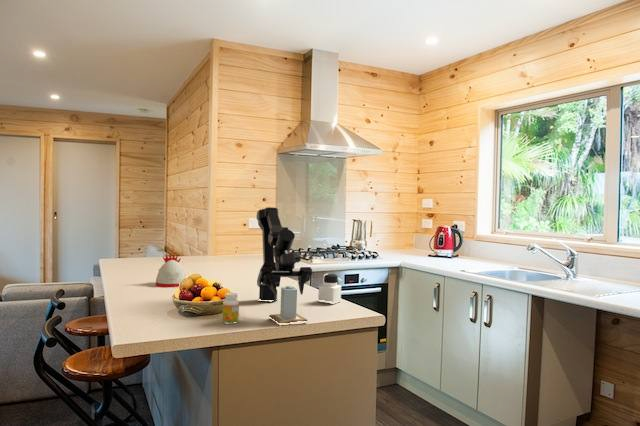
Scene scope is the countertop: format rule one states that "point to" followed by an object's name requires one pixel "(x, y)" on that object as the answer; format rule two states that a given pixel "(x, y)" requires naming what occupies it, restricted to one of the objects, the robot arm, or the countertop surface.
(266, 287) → the robot arm
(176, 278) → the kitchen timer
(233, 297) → the supplement bottle
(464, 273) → the countertop surface
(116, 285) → the countertop surface
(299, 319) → the pedestal
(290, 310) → the pillar
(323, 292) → the medicine bottle
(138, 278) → the countertop surface
